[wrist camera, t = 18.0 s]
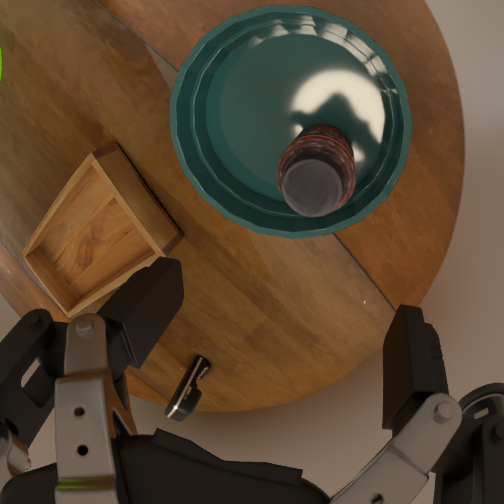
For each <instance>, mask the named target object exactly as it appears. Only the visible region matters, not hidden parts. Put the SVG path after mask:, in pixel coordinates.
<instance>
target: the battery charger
mask: <svg viewBox="0 0 504 504" xmlns="http://www.w3.org/2000/svg"><path fill="white" fill-rule="evenodd" d="M210 366H211V365H210V364H209V363H208V362H207V361H206V360H204V359H203V358H201V357H199V356H197V357H196V358H195V359H194V361H193V362H192V364H191V365H190V366H189V368H188V369H187V371H186V373H185V375H184V377H183V378H182V380H181V382H180V384H179V386H178V388H177V390H176V391H175V393H174V395H173V397H172V399H171V401H170V403H169V404H168V406H167V408H166V410H165V415H167V416H168V417H171V418H172V419H174V420H176V421H179V422H182V421H184V420H185V419H186V418H187V417H188V416H189V415H190V414H191V413H192V412H193V410H194V409H195V407H196V405H197V403H198V401H199V399H200V397H201V393H202V392H201V391H200V390H198V389H197V384H196V380H197V379H201V378H202V377H203V376H204V375H205V374H206V373H207V371H208V370H209V369H210Z"/></svg>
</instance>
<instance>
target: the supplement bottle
mask: <svg viewBox="0 0 504 504" xmlns="http://www.w3.org/2000/svg"><path fill="white" fill-rule="evenodd" d="M276 177H277V183H278V187H279V189H280V191H281V193H282V195H283V197H284V198H285V201H286V202H287V204H288V205H289V206H290V207H291V208H292V209H293V210H294V211H295V212H297V213H299V214H301V215H303V216H308V217H320V216H324V215H327V214H328V213H330V212H333V211H335V210H337V209H339V208H340V207H341V206H343V205H344V204H345V203H346V202H347V201H348V200H349V198H350V197H351V195H352V193H353V191H354V188H355V184H356V166H355V159H354V151H353V147H352V145H351V142H350V140H349V139H348V137H347V136H346V135H345V134H344V133H343V132H342V131H341V130H339V129H338V128H336V127H334V126H331V125H326V124H317V125H313V126H310V127H307V128H306V129H304V130H303V131H302V132H301V133H300V134H299V135H298V136H297V137H296V138H295V139H294V140H293V141H292V142H291V143H290V144H289V146H288V147H287V148H286V149H285V150H284V152H283V153H282V155H281V157H280V159H279V161H278V165H277V170H276Z"/></svg>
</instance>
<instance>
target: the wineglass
mask: <svg viewBox="0 0 504 504" xmlns="http://www.w3.org/2000/svg"><path fill="white" fill-rule="evenodd" d="M1 74H2V52H1V47H0V82H1Z"/></svg>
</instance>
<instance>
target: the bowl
mask: <svg viewBox="0 0 504 504" xmlns="http://www.w3.org/2000/svg"><path fill="white" fill-rule="evenodd" d="M317 124H326V125H331V126H334V127H336V128H338V129H339V130H341V131H342V132H343V133H344V134H345V135H346V136H347V137H348V139H349V140H350V142H351V145H352V147H353V151H354V159H355V166H356V184H355V188H354V191H353V193H352V195H351V197H350V198H349V200H348V201H347V202H346V203H345V204H344V205H343V206H341V207H340V208H339V209H337V210H335V211H333V212H330V213H328V214H327V215H324V216H320V217H308V216H303V215H301V214H299V213H297V212H295V211H294V210H293V209H292V208H291V207H290V206H289V205H288V204H287V202H286V201H285V198H284V197H283V195H282V193H281V191H280V189H279V187H278V183H277V177H276V170H277V165H278V161H279V159H280V157H281V155H282V153H283V152H284V150H285V149H286V148H287V147H288V146H289V144H290V143H291V142H292V141H293V140H294V139H295V138H296V137H297V136H298V135H299V134H300V133H301V132H302V131H303V130H304V129H306V128H307V127H310V126H313V125H317ZM412 127H413V125H412V119H411V112H410V107H409V101H408V96H407V90H406V87H405V85H404V83H403V81H402V79H401V77H400V76H399V74H398V72H397V70H396V69H395V67H394V65H393V63H392V62H391V60H390V58H389V57H388V55H387V53H386V52H385V51H384V49H382V48H381V47H380V46H379V45H378V44H377V43H376V42H375V41H373V40H372V39H371V38H370V37H369V36H368V35H367V34H365V33H364V32H363V31H362V30H361V29H359V28H358V27H357V26H356V25H354V24H353V23H351V22H350V21H347V20H345V19H343V18H340V17H338V16H335V15H333V14H330V13H328V12H325V11H322V10H320V9H317V8H314V7H308V6H291V5H268V6H264V7H260V8H257V9H253V10H250V11H247V12H243V13H240V14H237V15H234V16H232V17H230V18H228V19H227V20H225V21H224V22H223V23H221V24H220V25H218V26H217V27H215V28H214V29H213V30H211V31H210V32H209V33H207V34H206V35H205V36H203V37H202V38H201V39H200V40H199V41H198V43H197V44H196V46H195V47H194V48H193V50H192V51H191V53H190V54H189V55H188V57H187V58H186V60H185V61H184V63H183V64H182V65H181V67H180V68H179V72H178V75H177V78H176V81H175V85H174V88H173V91H172V95H171V98H170V135H171V139H172V142H173V145H174V148H175V151H176V154H177V157H178V160H179V163H180V166H181V169H182V170H183V172H184V173H185V174H186V176H187V177H188V179H189V180H190V182H191V183H192V185H193V186H194V188H195V189H196V191H197V192H198V194H199V195H200V196H201V197H202V198H203V199H204V200H205V201H207V202H208V203H209V204H210V205H211V206H212V207H214V208H215V209H216V210H217V211H218V212H220V213H221V214H222V215H223V216H224V217H225V218H227V219H229V220H231V221H233V222H235V223H237V224H240V225H242V226H244V227H246V228H248V229H250V230H252V231H254V232H257V233H261V234H267V235H273V236H279V237H284V238H290V239H295V238H305V237H314V236H324V235H329V234H331V233H333V232H336V231H338V230H341V229H343V228H345V227H348V226H350V225H352V224H355V223H357V222H359V221H361V220H362V219H363V218H364V217H366V216H367V215H368V214H369V213H370V212H371V211H373V210H374V209H375V208H376V207H377V206H378V205H380V204H381V203H382V202H383V201H384V200H385V199H386V198H387V197H388V195H389V194H390V192H391V190H392V189H393V187H394V185H395V184H396V182H397V180H398V178H399V177H400V175H401V173H402V171H403V170H404V168H405V165H406V162H407V157H408V152H409V146H410V141H411V135H412V129H413V128H412Z"/></svg>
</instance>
